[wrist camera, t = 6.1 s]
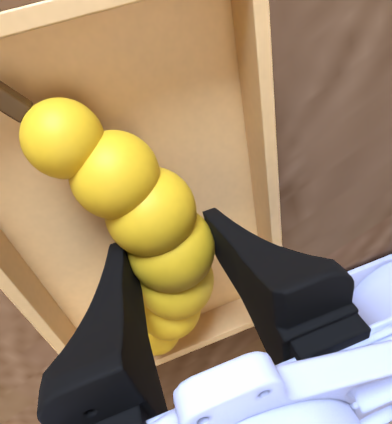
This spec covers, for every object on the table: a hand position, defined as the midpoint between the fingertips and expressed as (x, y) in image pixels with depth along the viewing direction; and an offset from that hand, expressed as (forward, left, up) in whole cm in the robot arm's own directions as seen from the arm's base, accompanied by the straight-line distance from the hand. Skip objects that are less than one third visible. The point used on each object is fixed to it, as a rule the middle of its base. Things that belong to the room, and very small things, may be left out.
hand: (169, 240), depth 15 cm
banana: (0, +1, -1) cm, 2 cm away
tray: (0, +1, -2) cm, 2 cm away
